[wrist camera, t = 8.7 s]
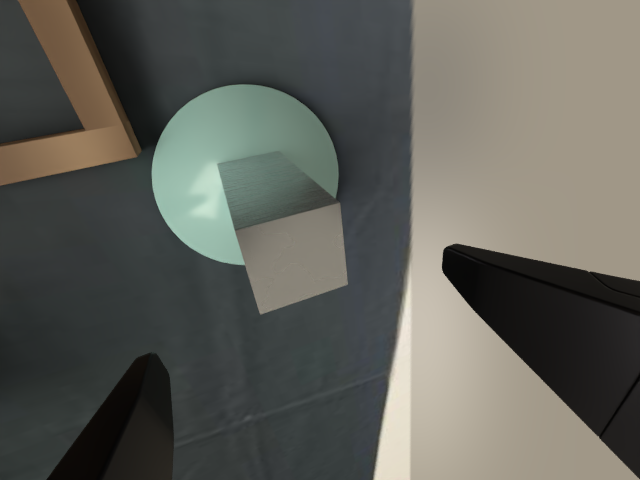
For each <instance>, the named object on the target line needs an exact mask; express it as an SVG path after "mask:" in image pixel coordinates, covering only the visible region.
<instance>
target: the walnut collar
mask: <svg viewBox="0 0 640 480" xmlns="http://www.w3.org/2000/svg"><path fill="white" fill-rule="evenodd" d="M18 1H19V3H20V5H21V7H22V9H23V11H24V12H25V14H26V16H27V18H28V20H29V22H30V24H31V26H32V28H33V30H34V32H35V34H36V36H37V38H38V40H39V41H40V43H41V45H42V47H43V49H44V51H45V53H46V55H47V57H48V59H49V61H50V63H51V65H52V67H53V69H54V70H55V72H56V74H57V76H58V78H59V80H60V82H61V84H62V86H63V88H64V90H65V92H66V94H67V96H68V98H69V99H70V101H71V103H72V105H73V107H74V109H75V111H76V113H77V115H78V117H79V119H80V121H81V123H82V125H83V127H84V128H85V129H79V130H73V131H68V132H62V133H57V134H51V135H46V136H40V137H35V138H29V139H24V140H18V141H12V142H7V143H1V144H0V185H5V184H10V183H15V182H20V181H24V180H29V179H34V178H39V177H44V176H48V175H53V174H58V173H63V172H68V171H72V170H77V169H82V168H87V167H92V166H96V165H101V164H106V163H111V162H116V161H120V160H125V159H130V158H135V157H137V156H138V155H139V154H140V152H141V151H142V150H141V147H140V145H139V143H138V140H137V138H136V136H135V134H134V131H133V129H132V127H131V125H130V122H129V120H128V118H127V115H126V113H125V111H124V109H123V106H122V104H121V102H120V99H119V97H118V95H117V93H116V90H115V88H114V86H113V83H112V81H111V79H110V77H109V74H108V72H107V70H106V68H105V65H104V63H103V61H102V58H101V56H100V54H99V52H98V49H97V47H96V45H95V42H94V40H93V38H92V36H91V33H90V31H89V29H88V26H87V24H86V22H85V20H84V17H83V15H82V13H81V10H80V8H79V6H78V4H77V1H76V0H18Z"/></svg>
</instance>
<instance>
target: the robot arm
mask: <svg viewBox="0 0 640 480" xmlns="http://www.w3.org/2000/svg"><path fill="white" fill-rule="evenodd" d="M442 270H443V273H444V274H445V276H446V277H447V278H448V280H449V281H450V282H451V283H452V284H453V286H454V287H455V288H456V289H457V291H458V292H459V293H460V294H461V296H462V297H463V298H464V299H465V301H466V302H467V303H468V304H469V305H470V306H471V308H472V309H473V310H474V311H475V312H476V313H477V314H478V315H479V316H480V317H481V318H482V319H483V320H484V321H485V322H486V323H487V324H488V325H489V326H490V327H491V328H492V329H493V330H494V331H495V332H496V334H497V335H498V336H499V337H500V338H501V339H502V340H503V341H504V342H505V343H506V344H508V346H509V347H510V348H511V349H512V350H513V351H514V352H515V353H516V354H517V355H518V356H519V357H520V358H521V359H522V360H523V361H524V362H525V363H526V364H527V365H528V366H529V367H530V368H531V369H532V370H533V371H534V372H535V373H536V374H537V375H538V376H539V377H540V378H541V379H542V380H543V381H544V382H545V383H546V384H547V385H548V386H549V387H550V388H551V389H552V390H553V391H554V392H555V393H556V394H557V395H558V396H559V397H560V398H561V399H562V400H563V402H564V403H566V404H567V406H569V408H570V409H571V410H572V411H573V412H574V413H575V414H576V415H577V416H578V417H579V418H580V419H581V420H582V421H583V422H584V423H585V424H586V425H587V426H588V427H589V428H590V429H591V430H592V431H593V432H594V433H595V434H596V435H597V436H599V438H600V439H601V440H602V441H603V442H604V443H605V444H606V445H607V446H608V447H609V448H610V450H611V451H613V453H614V454H615V455H617V456H618V458H619V459H620V460H621V461H623V463H624V464H625V465H626V466H627V467H628V468H629V469H630V470H631V471H632V472H633V473H634V474H635V475H636V476H637V477H638V478H639V479H640V281H636V280H630V279H625V278H620V277H615V276H610V275H605V274H600V273H596V272H588V271H585V270H581V269H576V268H571V267H567V266H562V265H557V264H552V263H547V262H543V261H538V260H533V259H528V258H523V257H518V256H514V255H509V254H504V253H499V252H495V251H490V250H485V249H480V248H475V247H471V246H466V245H461V244H453V245H450V246H448V247H446V248H445V249H444V251H443V262H442ZM173 449H174V432H173V416H172V402H171V387H170V377H169V373H168V371H167V369H166V368H165V366H164V365H163V363H162V362H161V360H160V358H159V357H158V355H157V354H156V353H154V352H151V353H148V354H145V355H142V356H140V357H138V358H136V359H135V360H134V362H133V363H132V364H131V366H130V367H129V369H128V370H127V371H126V373H125V374H124V375H123V377H122V378H121V379H120V381H119V382H118V383H117V385H116V386H115V387H114V389H113V390H112V392H111V393H110V394H109V396H108V397H107V398H106V400H105V401H104V402H103V404H102V405H101V406H100V408H99V409H98V410H97V412H96V413H95V415H94V416H93V417H92V419H91V420H90V421H89V423H88V424H87V425H86V427H85V428H84V429H83V431H82V432H81V434H80V435H79V436H78V438H77V439H76V440H75V442H74V443H73V444H72V446H71V447H70V448H69V450H68V451H67V452H66V454H65V455H64V457H63V458H62V459H61V461H60V462H59V463H58V465H57V466H56V467H55V469H54V470H53V471H52V473H51V474H50V475H49V477H48V478H47V480H172V470H173Z"/></svg>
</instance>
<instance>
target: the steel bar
mask: <svg viewBox="0 0 640 480" xmlns="http://www.w3.org/2000/svg"><path fill="white" fill-rule="evenodd" d="M217 166H218V170H219V174H220V178H221V181H222V185H223V189H224V193H225V196H226V200H227V204H228V208H229V211H230V215H231V219H232V222H233V226H234V230H235V233H236V237H237V240H238V243H239V246H240V250H241V253H242V256H243V260H244V263H245V266H246V269H247V273H248V276H249V279H250V283H251V286H252V289H253V292H254V296H255V299H256V302H257V306H258V309H259V312H260V314H263V313H266V312H269V311H272V310H275V309H278V308H281V307H284V306H287V305H290V304H292V303H295V302H298V301H301V300H304V299H307V298H310V297H313V296H316V295H319V294H322V293H324V292H327V291H330V290H333V289H336V288H339V287H342V286H345V285H348V283H347V272H346V261H345V251H344V240H343V229H342V218H341V208H340V202H339V201H337V200H336V199H335V198H334V197H333V196H332V195H330V194H329V193H328V192H327V191H326V190H324V189H323V188H322V187H321V186H320V185H319V184H317V183H316V182H315V181H314V180H313V179H311V178H310V177H309V176H308V175H307V174H306V173H304V172H303V171H302V170H301V169H300V168H298V167H297V166H296V165H295V164H294V163H293V162H291V161H290V160H289V159H288V158H287V157H285V156H284V155H283V154H282V153H281V152H280V151H275V152H270V153H266V154H261V155H256V156H251V157H247V158H242V159H237V160H232V161H228V162H223V163H218V164H217Z"/></svg>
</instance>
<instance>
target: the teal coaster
mask: <svg viewBox="0 0 640 480" xmlns="http://www.w3.org/2000/svg"><path fill="white" fill-rule="evenodd" d="M275 151H280V152H281V153H282V154H283V155H284V156H285V157H287V158H288V159H289V160H290V161H291V162H293V163H294V164H295V165H296V166H297V167H298V168H300V169H301V170H302V171H303V172H304V173H306V174H307V175H308V176H309V177H310V178H311V179H313V180H314V181H315V182H316V183H317V184H319V185H320V186H321V187H322V188H323V189H324V190H326V191H327V192H328V193H329V194H330V195H332V196H333V197H334V198H336V193H337V189H338V178H339V173H338V162H337V156H336V152H335V149H334V146H333V143H332V141H331V138H330V136H329V134H328V132H327V131H326V129H325V127H324V126H323V124H322V123H321V122H320V120H319V119H318V118H317V117H316V115H315V114H314V113H313V112H312V111H311V110H309V109H308V108H307V107H306V106H305V105H304V104H302V103H301V102H299V101H298V100H297V99H295V98H293V97H291V96H290V95H288V94H286V93H284V92H281V91H278V90H275V89H273V88H269V87H264V86H259V85H247V84H238V85H228V86H224V87H220V88H215V89H213V90H210V91H208V92H205V93H203V94H201V95H199V96H197V97H196V98H194V99H192V100H191V101H189V102H188V103H187V104H186V105H185V106H183V107H182V108H181V109H180V110H179V111H178V112H177V113H176V114H175V115H174V116H173V118H172V119H171V120H170V121H169V123H168V124H167V126H166V128H165V129H164V131H163V132H162V134H161V137H160V139H159V141H158V144H157V146H156V150H155V154H154V158H153V165H152V186H153V191H154V195H155V200H156V202H157V205H158V208H159V210H160V212H161V214H162V216H163V218H164V220H165V222H166V223H167V224H168V226H169V227H170V228H171V230H172V231H173V232H174V233H175V234H176V235H177V236H178V237H179V238H180V239H181V240H182V241H183V242H184V243H185V244H187V245H188V246H189V247H190V248H192V249H194V250H195V251H197V252H198V253H200V254H202V255H204V256H207V257H209V258H211V259H214V260H217V261H220V262H225V263H230V264H239V265H245V263H244V260H243V256H242V253H241V250H240V246H239V243H238V240H237V237H236V233H235V230H234V226H233V222H232V219H231V215H230V211H229V208H228V204H227V200H226V196H225V193H224V189H223V185H222V181H221V178H220V174H219V170H218V166H217V164H218V163H223V162H228V161H232V160H237V159H242V158H247V157H251V156H256V155H261V154H266V153H270V152H275Z"/></svg>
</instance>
